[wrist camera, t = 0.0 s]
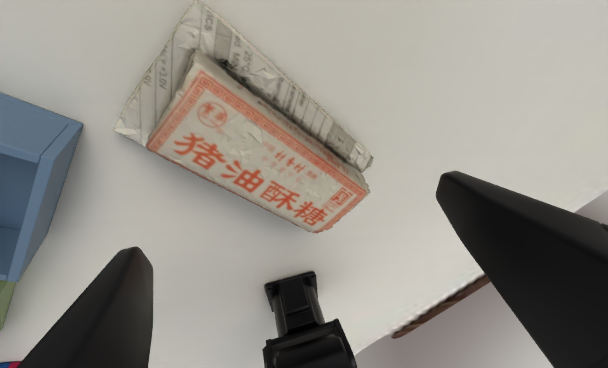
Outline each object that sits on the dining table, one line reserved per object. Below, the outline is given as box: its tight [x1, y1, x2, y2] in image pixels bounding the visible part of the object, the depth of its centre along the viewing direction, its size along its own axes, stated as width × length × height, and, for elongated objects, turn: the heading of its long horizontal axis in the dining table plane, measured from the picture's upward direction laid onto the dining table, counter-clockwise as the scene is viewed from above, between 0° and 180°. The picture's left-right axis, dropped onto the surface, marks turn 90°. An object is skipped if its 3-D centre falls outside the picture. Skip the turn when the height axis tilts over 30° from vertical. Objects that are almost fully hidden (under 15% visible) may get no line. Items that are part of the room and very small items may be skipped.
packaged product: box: [113, 0, 373, 233], centre depth 21 cm, size 18×5×10 cm
